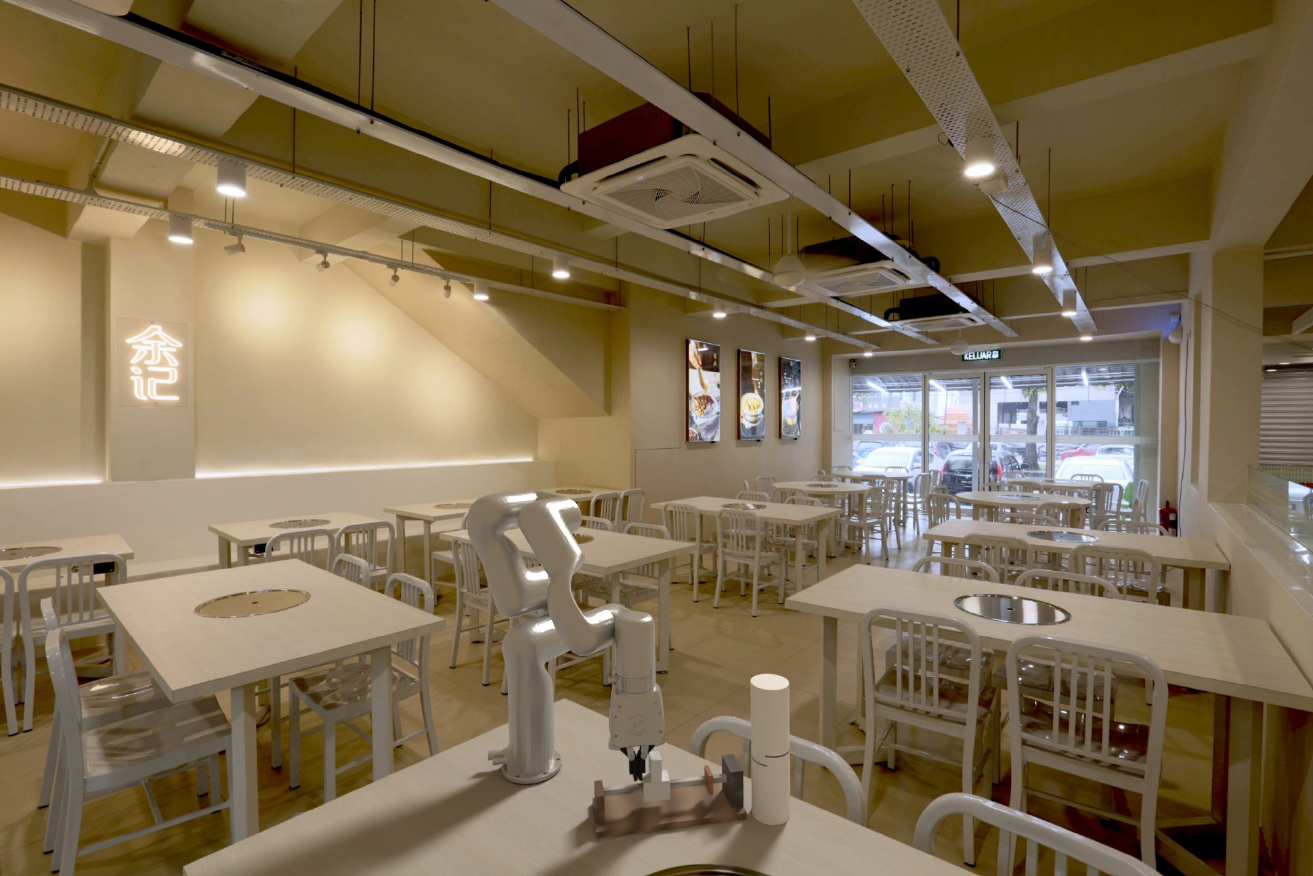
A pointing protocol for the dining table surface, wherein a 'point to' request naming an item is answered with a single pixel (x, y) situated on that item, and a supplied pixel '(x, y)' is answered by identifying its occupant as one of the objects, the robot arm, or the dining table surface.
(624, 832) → the rail
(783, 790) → the cylindrical container
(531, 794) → the dining table surface
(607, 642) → the robot arm
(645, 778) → the sleeve
